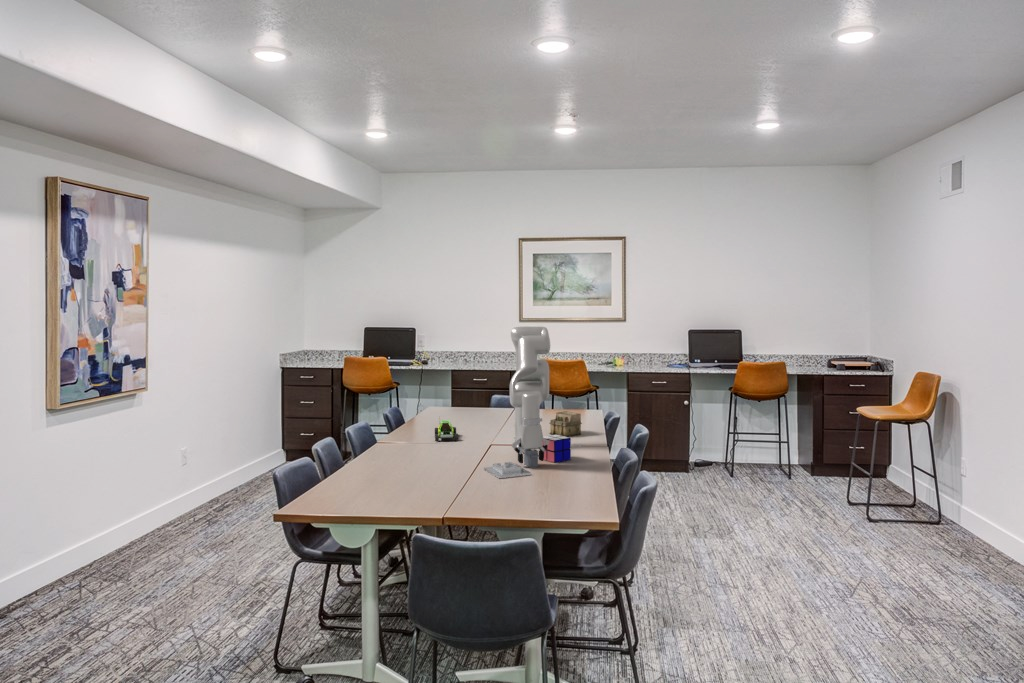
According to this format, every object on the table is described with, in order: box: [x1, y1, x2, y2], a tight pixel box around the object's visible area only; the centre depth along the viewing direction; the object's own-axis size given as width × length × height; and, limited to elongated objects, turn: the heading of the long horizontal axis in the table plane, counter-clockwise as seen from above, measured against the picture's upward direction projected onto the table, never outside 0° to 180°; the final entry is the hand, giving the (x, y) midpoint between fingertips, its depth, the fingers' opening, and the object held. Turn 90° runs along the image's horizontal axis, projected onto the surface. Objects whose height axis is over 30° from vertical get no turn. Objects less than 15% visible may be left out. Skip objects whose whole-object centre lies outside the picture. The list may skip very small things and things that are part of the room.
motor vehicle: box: [434, 416, 459, 442], centre depth 350 cm, size 12×19×11 cm, turn 8°
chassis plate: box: [483, 461, 532, 479], centre depth 278 cm, size 16×14×3 cm
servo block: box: [522, 448, 539, 469], centre depth 289 cm, size 8×4×8 cm, turn 25°
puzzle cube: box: [543, 434, 572, 464], centre depth 300 cm, size 10×10×10 cm
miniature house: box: [549, 410, 583, 438], centre depth 358 cm, size 15×14×11 cm
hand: (530, 461), depth 289 cm, fingers open, 9 cm apart
